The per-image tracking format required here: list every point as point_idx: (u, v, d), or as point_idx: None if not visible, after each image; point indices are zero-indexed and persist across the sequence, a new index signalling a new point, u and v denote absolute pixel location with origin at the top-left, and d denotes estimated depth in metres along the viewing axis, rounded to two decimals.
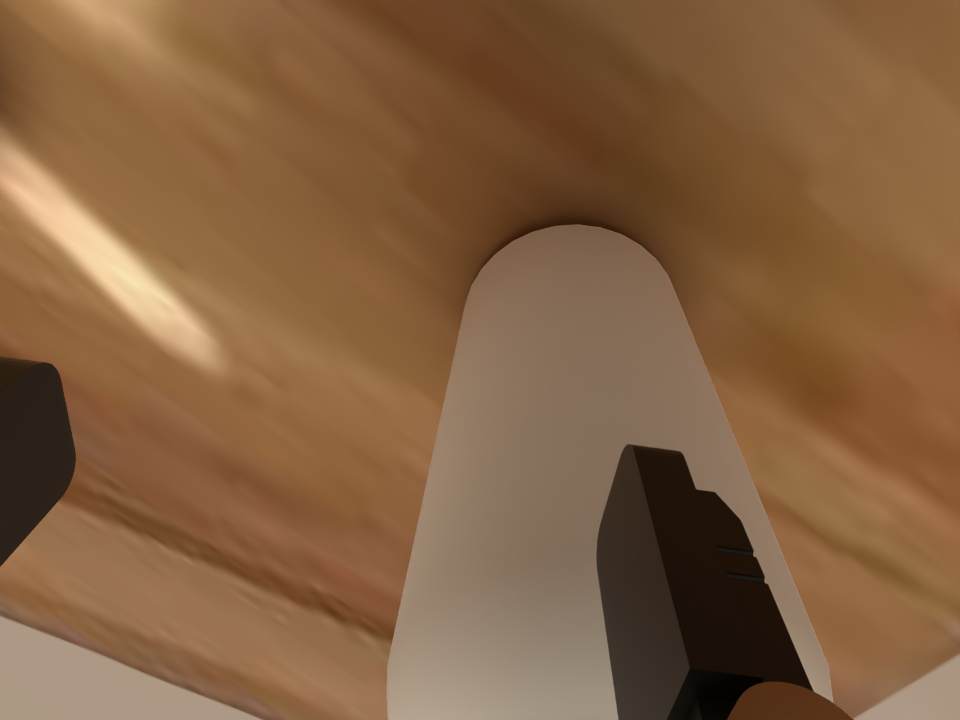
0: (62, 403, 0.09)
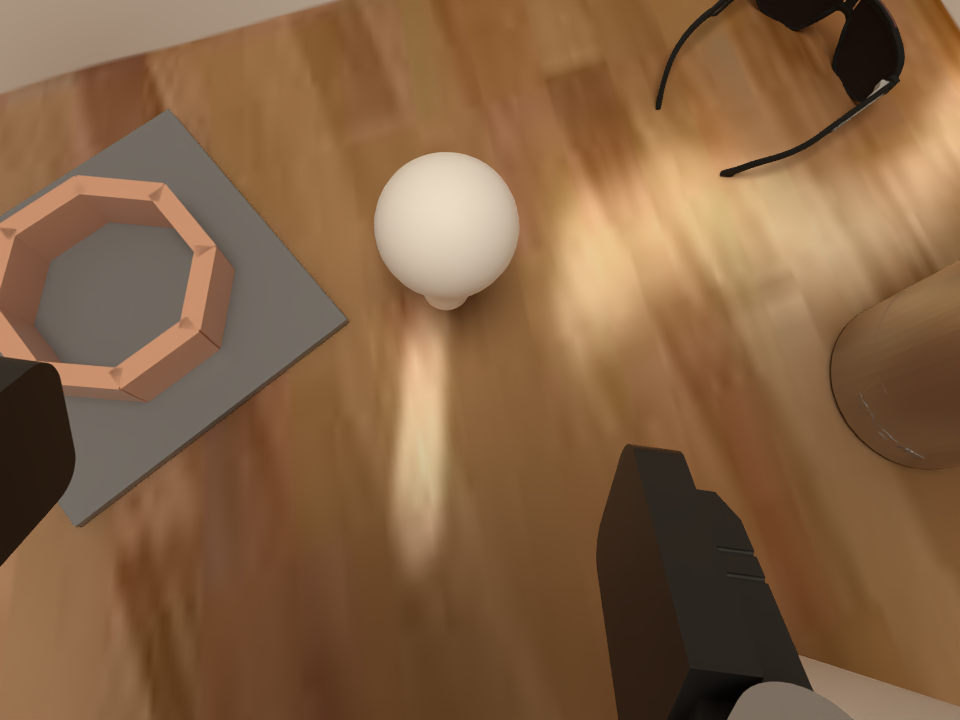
0: (62, 403, 0.09)
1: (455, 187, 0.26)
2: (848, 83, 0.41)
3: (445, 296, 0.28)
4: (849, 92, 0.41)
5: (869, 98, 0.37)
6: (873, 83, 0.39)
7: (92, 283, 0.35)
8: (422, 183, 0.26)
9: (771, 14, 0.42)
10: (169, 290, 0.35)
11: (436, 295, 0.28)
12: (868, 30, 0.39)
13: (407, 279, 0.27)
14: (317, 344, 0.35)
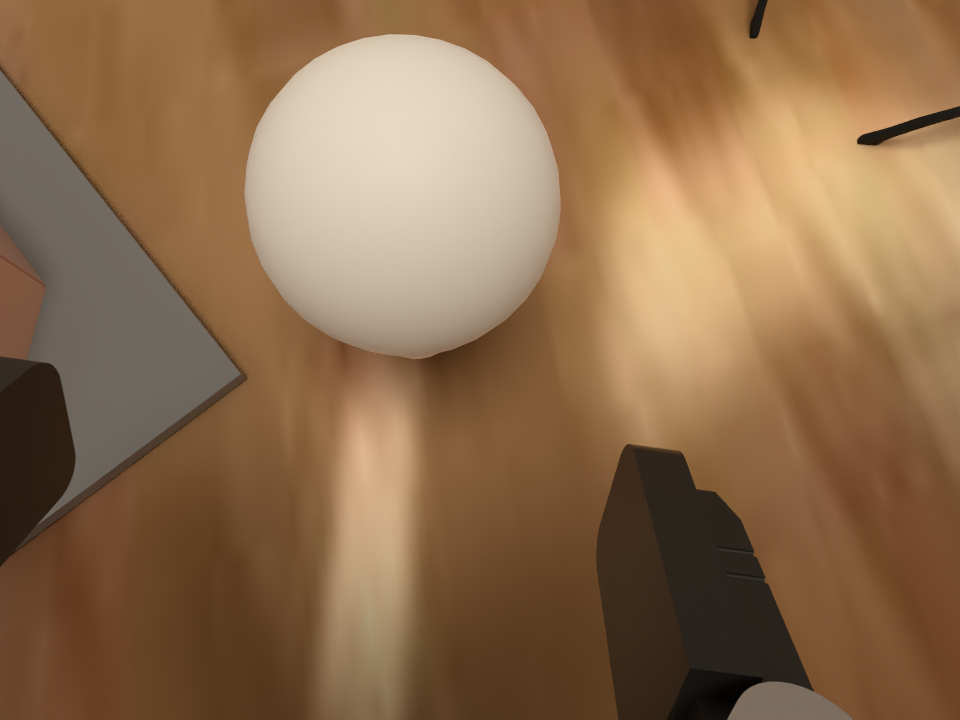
0: (62, 403, 0.09)
1: (417, 99, 0.11)
2: None
3: (400, 352, 0.13)
4: None
5: None
6: None
7: None
8: (339, 91, 0.11)
9: None
10: None
11: (380, 350, 0.13)
12: None
13: (315, 318, 0.12)
14: (187, 418, 0.20)
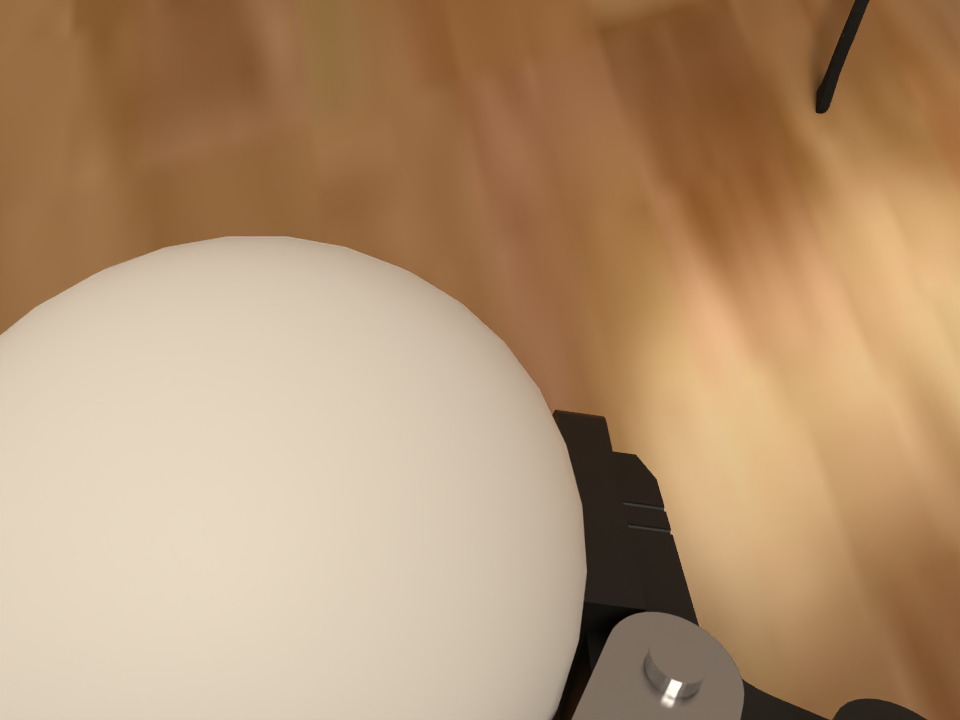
0: None
1: (209, 513, 0.04)
2: None
3: None
4: None
5: None
6: None
7: None
8: (4, 480, 0.04)
9: None
10: None
11: None
12: None
13: None
14: None
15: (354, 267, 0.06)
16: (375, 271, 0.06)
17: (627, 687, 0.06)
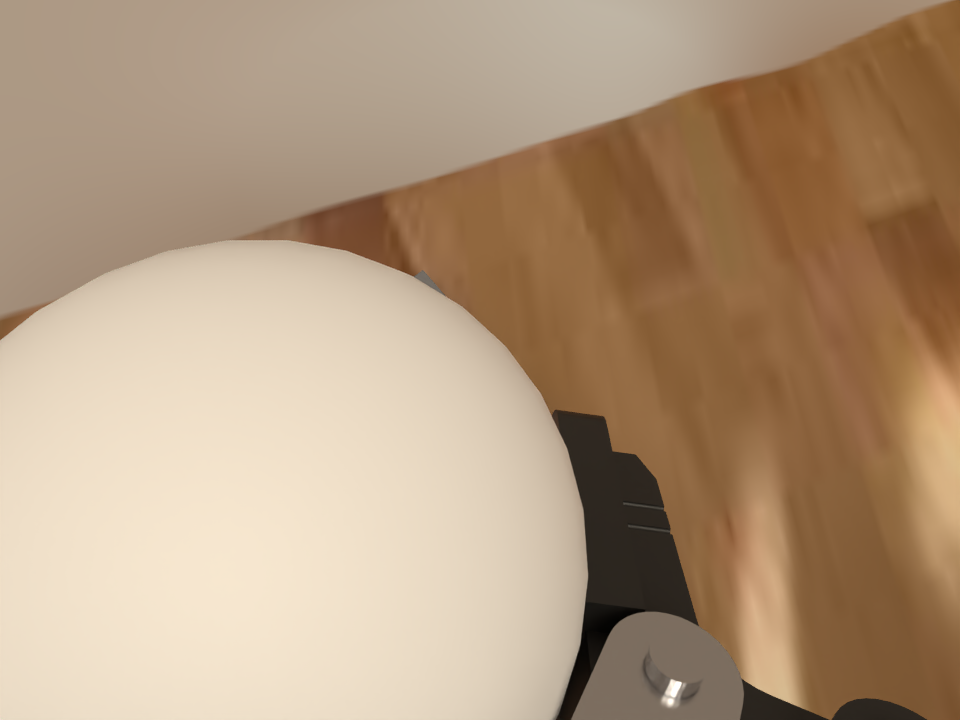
0: None
1: (212, 521, 0.04)
2: None
3: None
4: None
5: None
6: None
7: None
8: (4, 487, 0.04)
9: None
10: None
11: None
12: None
13: None
14: None
15: (355, 271, 0.06)
16: (376, 275, 0.06)
17: (627, 687, 0.06)
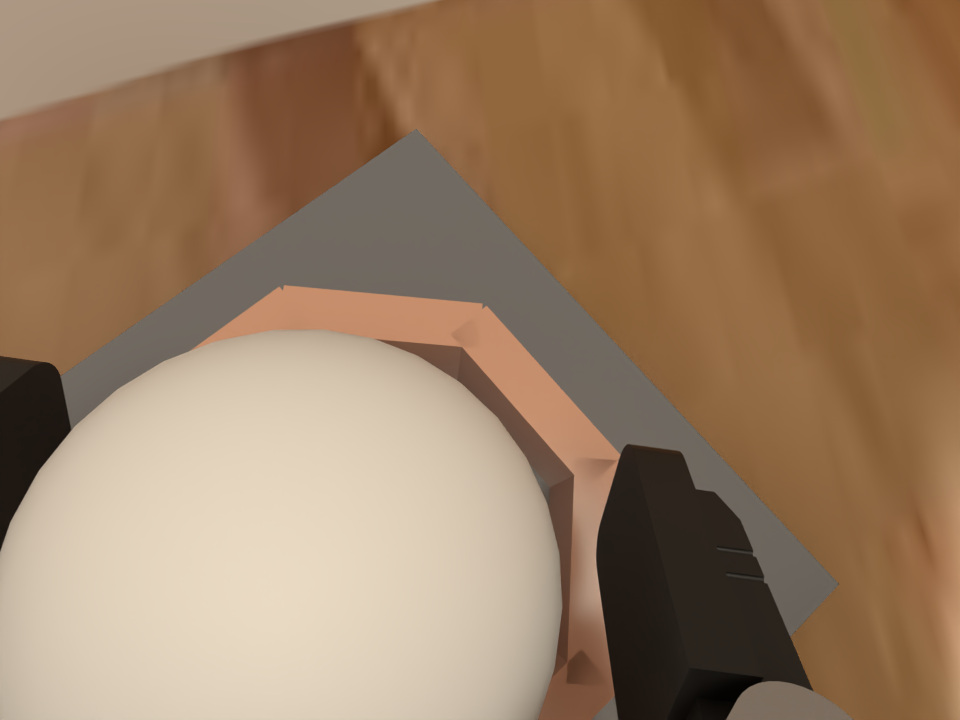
0: (63, 403, 0.09)
1: (270, 590, 0.05)
2: None
3: None
4: None
5: None
6: None
7: None
8: (110, 561, 0.05)
9: None
10: None
11: None
12: None
13: None
14: None
15: (371, 367, 0.07)
16: (388, 368, 0.07)
17: None
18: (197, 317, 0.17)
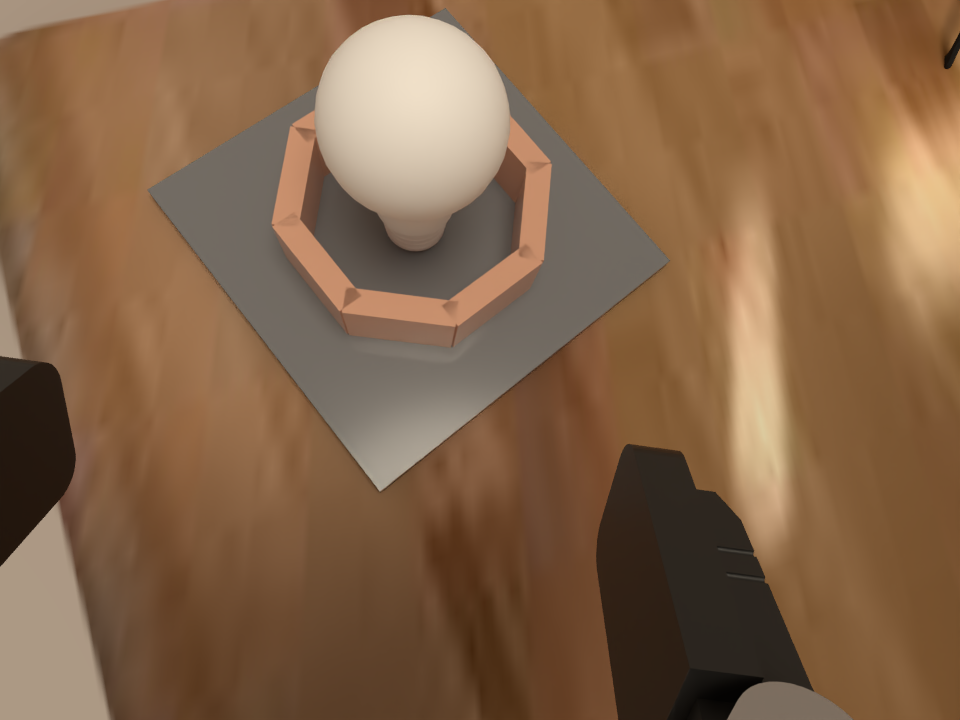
0: (62, 403, 0.09)
1: (424, 52, 0.18)
2: None
3: (407, 213, 0.21)
4: None
5: None
6: None
7: None
8: (378, 46, 0.19)
9: None
10: (465, 217, 0.29)
11: (395, 211, 0.21)
12: None
13: (356, 186, 0.20)
14: (635, 288, 0.30)
15: (446, 23, 0.20)
16: (451, 25, 0.20)
17: None
18: None
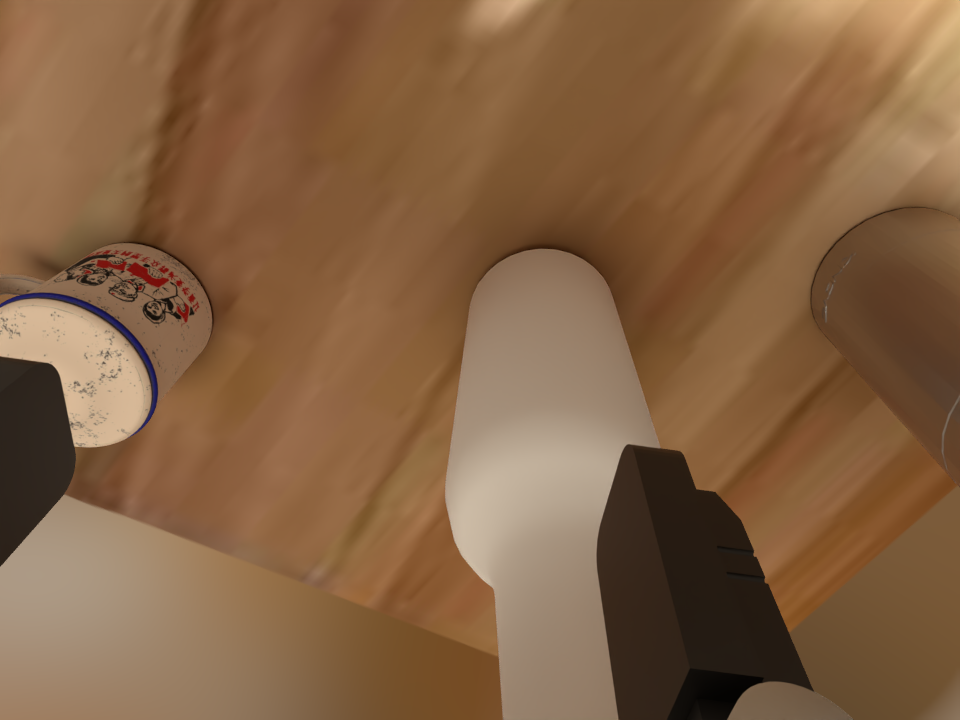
0: (62, 403, 0.09)
1: None
2: None
3: None
4: None
5: None
6: None
7: None
8: None
9: None
10: None
11: None
12: None
13: None
14: None
15: None
16: None
17: None
18: None
